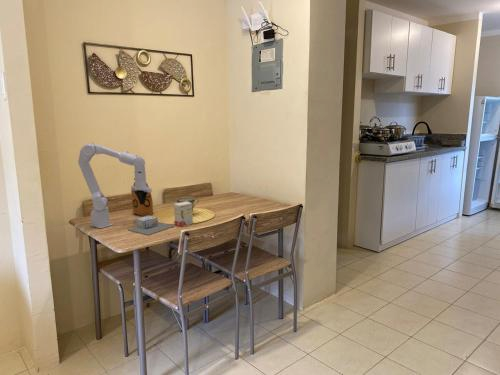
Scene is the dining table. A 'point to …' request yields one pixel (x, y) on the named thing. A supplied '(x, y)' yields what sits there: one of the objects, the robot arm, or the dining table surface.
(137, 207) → the coffee package
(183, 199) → the ceramic cup
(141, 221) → the medicine box
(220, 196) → the dining table surface
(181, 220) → the ink box
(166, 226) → the mat
